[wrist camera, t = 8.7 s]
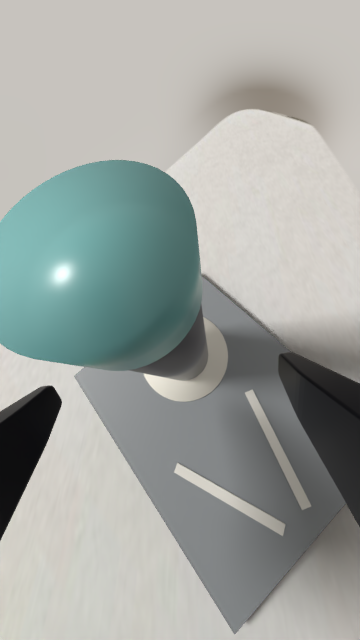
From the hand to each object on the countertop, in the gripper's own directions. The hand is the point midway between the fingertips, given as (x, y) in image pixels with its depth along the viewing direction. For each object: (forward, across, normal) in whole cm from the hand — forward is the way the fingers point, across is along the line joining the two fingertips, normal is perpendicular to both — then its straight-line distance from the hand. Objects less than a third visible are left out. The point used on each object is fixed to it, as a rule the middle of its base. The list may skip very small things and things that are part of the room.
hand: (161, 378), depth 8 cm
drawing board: (+5, -2, +7) cm, 9 cm away
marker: (+7, 0, +4) cm, 8 cm away
